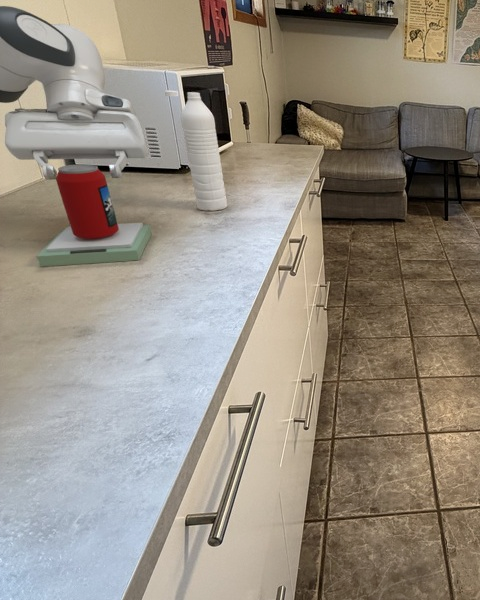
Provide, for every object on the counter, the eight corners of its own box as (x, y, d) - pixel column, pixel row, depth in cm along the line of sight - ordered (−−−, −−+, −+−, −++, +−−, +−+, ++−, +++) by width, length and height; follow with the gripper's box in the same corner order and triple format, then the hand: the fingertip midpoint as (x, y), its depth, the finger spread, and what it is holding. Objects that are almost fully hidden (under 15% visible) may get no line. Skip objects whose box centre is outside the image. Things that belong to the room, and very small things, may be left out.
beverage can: (127, 234, 86) (110, 168, 80) (86, 244, 80) (65, 174, 75) (107, 226, 88) (89, 161, 83) (66, 235, 83) (44, 167, 78)
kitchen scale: (40, 266, 77) (35, 252, 76) (66, 237, 89) (62, 225, 88) (139, 260, 82) (135, 246, 81) (151, 233, 94) (149, 221, 93)
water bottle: (229, 203, 114) (213, 91, 103) (224, 211, 109) (206, 94, 97) (190, 203, 113) (169, 89, 101) (183, 211, 107) (159, 91, 95)
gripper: (-5, 96, 78) (-2, 168, 75) (139, 100, 87) (147, 165, 84) (12, 120, 84) (15, 188, 81) (146, 122, 93) (154, 184, 89)
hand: (84, 177), depth 82 cm, fingers open, 8 cm apart
